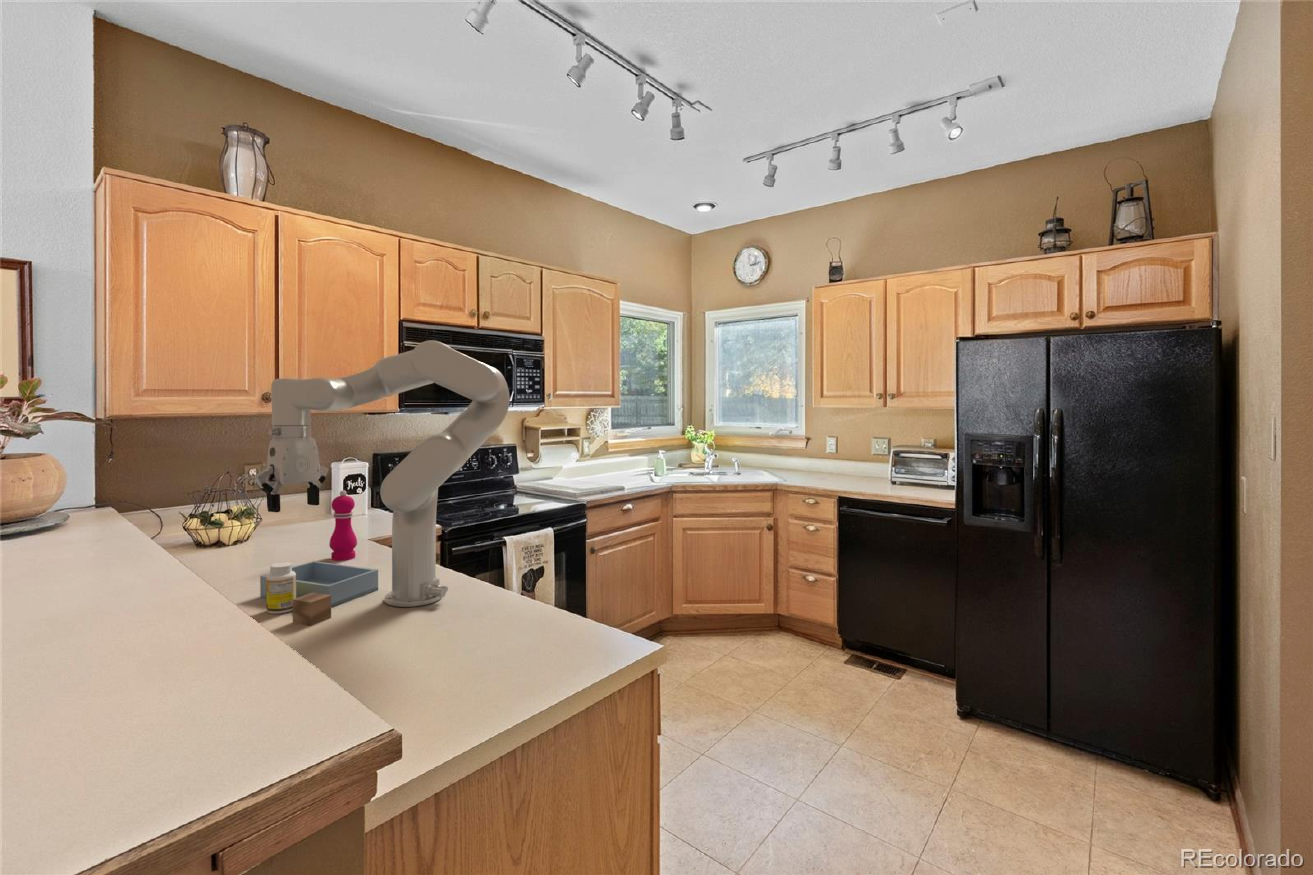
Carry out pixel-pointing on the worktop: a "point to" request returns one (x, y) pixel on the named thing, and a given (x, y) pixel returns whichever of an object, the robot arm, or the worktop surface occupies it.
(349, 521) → the pepper mill
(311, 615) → the walnut cube
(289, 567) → the supplement bottle
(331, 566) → the tote
